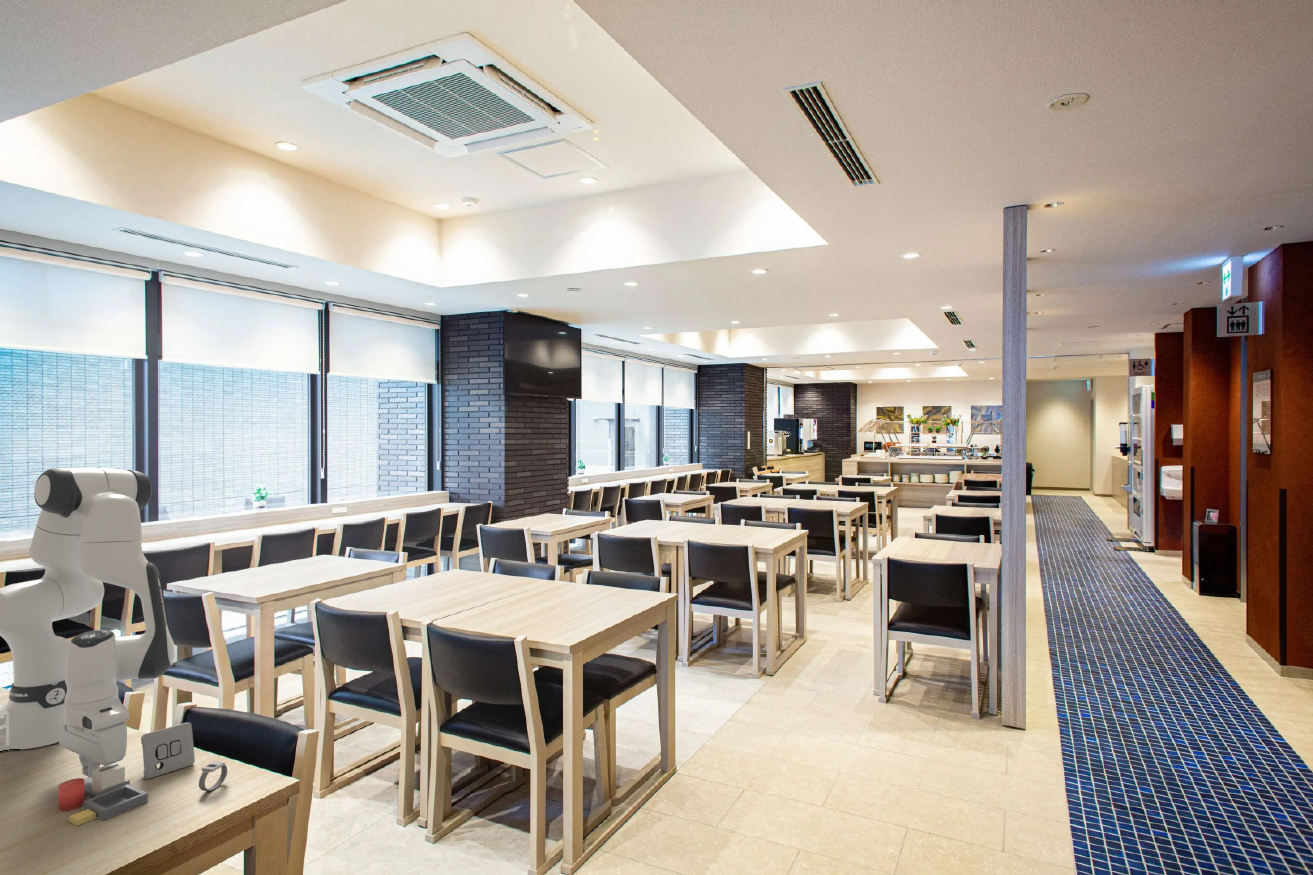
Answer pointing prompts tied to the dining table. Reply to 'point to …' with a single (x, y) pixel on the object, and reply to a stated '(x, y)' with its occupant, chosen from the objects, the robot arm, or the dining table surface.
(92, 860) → the dining table surface
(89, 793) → the rail
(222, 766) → the wristwatch
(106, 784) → the white slotted block
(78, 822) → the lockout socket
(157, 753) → the electrical switch
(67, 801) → the cap
